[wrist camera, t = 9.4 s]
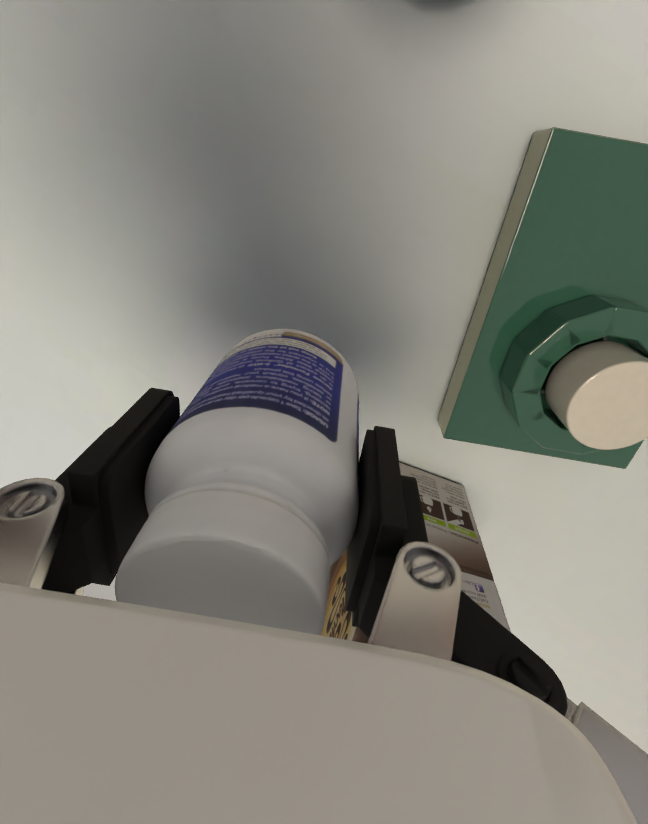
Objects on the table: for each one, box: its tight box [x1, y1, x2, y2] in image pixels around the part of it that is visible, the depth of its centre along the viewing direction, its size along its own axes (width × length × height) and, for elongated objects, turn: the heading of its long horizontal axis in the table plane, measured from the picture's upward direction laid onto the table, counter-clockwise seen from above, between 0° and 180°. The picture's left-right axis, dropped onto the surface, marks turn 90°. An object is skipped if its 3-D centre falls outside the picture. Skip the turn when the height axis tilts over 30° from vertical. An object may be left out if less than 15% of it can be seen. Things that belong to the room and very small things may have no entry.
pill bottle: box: [115, 329, 359, 635], centre depth 12 cm, size 5×5×9 cm
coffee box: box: [320, 463, 510, 644], centre depth 21 cm, size 9×6×16 cm
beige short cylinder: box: [545, 341, 648, 450], centre depth 18 cm, size 4×4×2 cm
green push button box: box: [438, 127, 648, 469], centre depth 19 cm, size 14×10×4 cm
